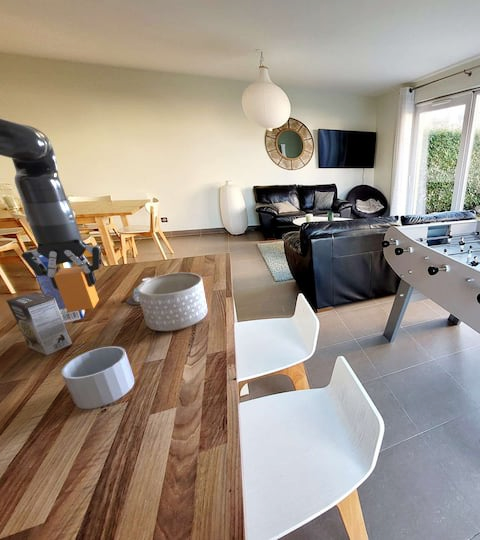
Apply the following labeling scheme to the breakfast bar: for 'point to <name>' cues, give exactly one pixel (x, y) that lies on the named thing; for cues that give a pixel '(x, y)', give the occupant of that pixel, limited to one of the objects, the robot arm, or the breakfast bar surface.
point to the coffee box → (40, 322)
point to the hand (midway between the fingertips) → (76, 287)
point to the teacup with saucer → (135, 296)
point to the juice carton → (75, 289)
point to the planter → (172, 301)
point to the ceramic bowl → (98, 377)
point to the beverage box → (57, 293)
